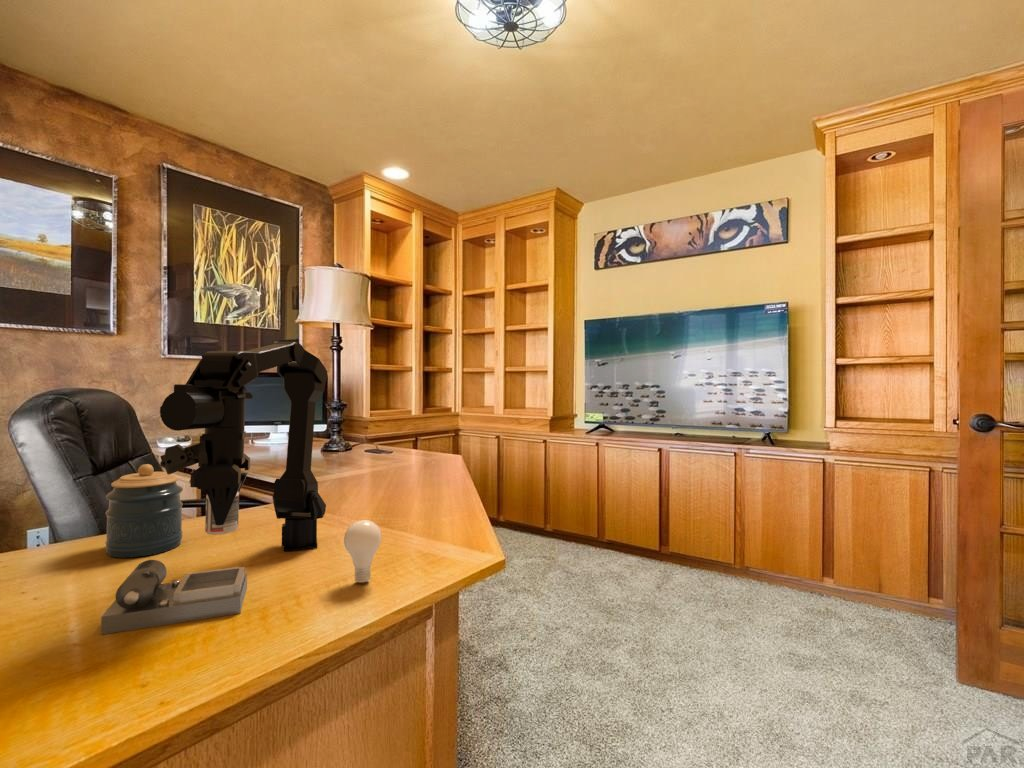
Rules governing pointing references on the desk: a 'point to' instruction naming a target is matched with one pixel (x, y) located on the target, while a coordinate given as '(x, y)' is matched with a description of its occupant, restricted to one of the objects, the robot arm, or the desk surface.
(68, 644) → the desk surface
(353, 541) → the lightbulb
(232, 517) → the pill bottle
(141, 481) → the canister
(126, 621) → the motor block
